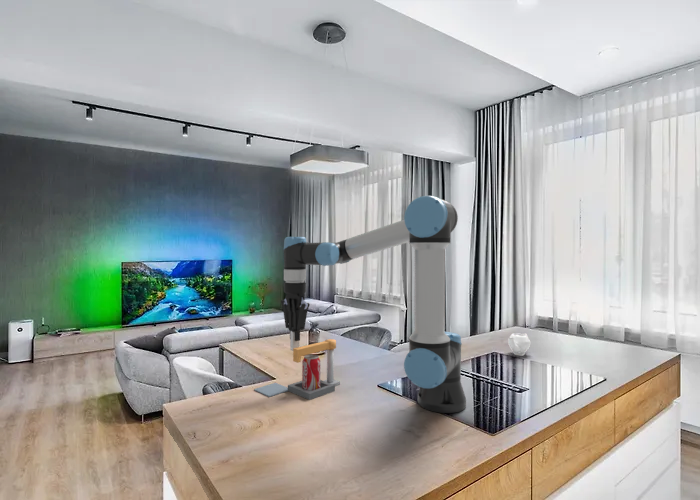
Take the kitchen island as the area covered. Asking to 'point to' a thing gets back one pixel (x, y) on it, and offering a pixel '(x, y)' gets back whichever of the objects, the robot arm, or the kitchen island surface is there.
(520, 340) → the white rounded lump
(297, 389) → the square ring with handle
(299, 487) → the kitchen island surface
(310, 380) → the beverage can
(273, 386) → the rubber mat
